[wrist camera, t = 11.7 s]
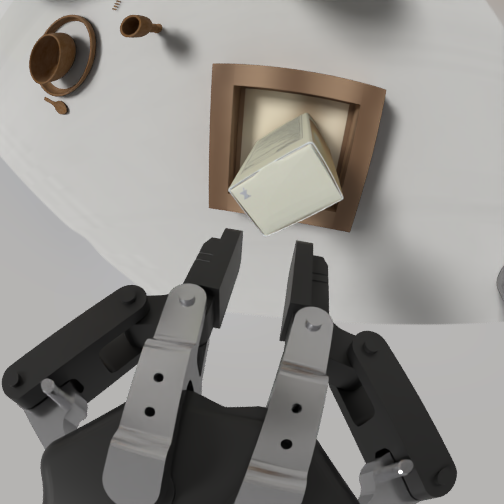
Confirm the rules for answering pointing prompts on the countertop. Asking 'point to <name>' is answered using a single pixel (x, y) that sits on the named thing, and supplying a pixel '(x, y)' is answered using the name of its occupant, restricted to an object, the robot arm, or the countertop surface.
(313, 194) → the skincare box
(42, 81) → the place setting
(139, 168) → the countertop surface
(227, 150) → the socket block
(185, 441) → the robot arm
